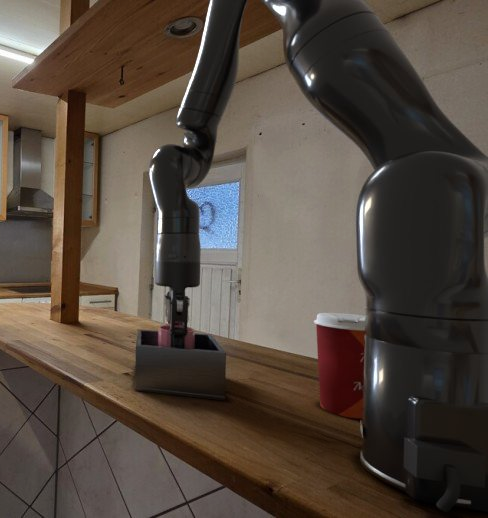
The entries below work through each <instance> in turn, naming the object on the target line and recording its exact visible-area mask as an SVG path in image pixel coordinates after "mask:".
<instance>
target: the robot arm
mask: <svg viewBox="0 0 488 518" xmlns="http://www.w3.org/2000/svg"><path fill="white" fill-rule="evenodd" d="M260 1H261V2H262V3H263V4H264V5H265V6H266V7H267V8H268V9H269V10H270V12H271V13H272V15H274V17H275V19H276V20H277V21H278V23H279V24H280V26H281V29H282V51H283V52H282V53H283V58H284V62H285V64H286V66H287V69H288V71H289V73H290V75H291V76H292V78H293V80H294V81H295V83H296V85H297V87H298V88H299V90H300V91H301V94H302V95H303V96H304V98H306V100H307V102H308V103H309V104H310V105H311V106H312V107H313V109H315V110H316V112H318V113H319V114H320V115H321V116H322V117H323V118H324V119H325V120H327V122H329V123H330V124H331V125H332V126H333V127H334V128H335V129H337V130H338V131H339V132H340V133H342V134H343V135H344V137H346V138H348V139H349V140H350V141H351V142H352V143H353V144H354V145H355V146H356V147H357V148H358V149H359V150H360V151H361V153H362V154H363V156H365V157H366V159H367V160H368V162H369V163H370V165H371V167H372V169H373V170H374V171H372V172H371V173H370V175H369V176H368V177H367V179H366V180H365V181H364V183H363V185H362V186H361V189H360V191H359V195H358V198H357V202H356V211H355V235H356V236H355V241H356V242H355V245H356V247H355V248H356V270H357V277H358V281H359V283H360V285H361V287H362V289H363V292H364V296H365V308H364V309H365V310H364V311H365V314H364V316H365V339H364V378H363V416H362V419H361V420H360V423H359V428H360V430H359V431H360V434H361V450H360V459H359V461H360V463H361V465H362V467H363V468H364V469H365V470H366V471H367V472H368V473H370V474H371V475H372V476H374V477H375V478H377V479H378V480H380V481H382V482H383V483H386V484H388V485H389V486H392V487H394V488H396V489H398V490H400V491H402V492H404V493H406V494H407V495H408V496H409V497H411V499H413V500H415V501H419V502H425V503H430V504H431V503H432V504H435V505H436V507H437V509H440V511H443V512H444V513H445V512H446V513H447V512H449V511H450V510H451V509H452V508H453V507H455V508H460V509H461V508H462V509H468V510H475V511H480V512H486V513H488V272H487V269H486V260H485V258H486V256H485V240H486V238H488V155H487V154H486V153H484V152H483V151H482V150H481V149H480V148H479V147H478V146H477V145H476V144H474V142H472V140H470V138H468V137H467V136H466V135H465V133H463V132H462V131H461V130H460V129H459V127H457V126H456V124H454V123H453V121H452V120H450V119H449V117H448V116H447V115H446V114H445V113H444V111H443V110H442V109H441V108H440V107H439V105H438V103H437V102H436V101H435V99H434V98H433V96H432V94H431V93H430V91H429V89H428V87H427V86H426V84H425V82H424V81H423V79H422V77H421V76H420V74H419V72H418V71H417V70H416V68H415V67H414V65H413V64H412V63H411V61H410V59H409V57H408V56H407V55H406V54H405V52H404V51H403V49H402V48H401V46H400V45H399V43H398V42H397V40H396V39H395V37H394V36H393V34H392V33H391V31H389V29H388V28H387V26H385V25H386V24H384V23H383V22H382V20H381V19H380V18H379V16H378V15H377V14H376V13H375V12H374V11H373V9H372V8H371V7H369V5H367V3H366V2H365V1H364V0H260ZM247 2H248V0H209V3H208V7H207V12H206V17H205V20H204V26H203V30H202V35H201V40H200V45H199V48H198V52H197V55H196V56H197V57H196V59H195V63H194V66H193V69H192V72H191V75H190V78H189V81H188V83H187V86H186V89H185V91H184V94H183V97H182V99H181V102H180V105H179V107H178V108H179V109H178V111H177V113H176V116H175V125H176V127H177V128H179V129H180V130H181V131H182V132H183V139H182V145H179V144H173V143H168V144H167V143H166V144H164V145H161V146H160V147H158V148H157V149H156V150H155V152H154V153H153V155H152V157H151V159H150V162H149V166H148V177H149V183H150V188H151V191H152V197H153V200H154V204H155V208H156V211H157V218H156V219H157V220H156V222H157V223H156V240H155V248H154V284H155V285H156V286H159V287H164V288H165V287H167V288H168V291H167V293H166V294H165V295H164V306H165V309H164V310H165V311H164V313H165V319H166V325H170V331H169V334H170V336H171V340H170V347H174V348H185V337H186V335H187V333H188V330H187V327H188V323H189V317H190V316H189V308H190V305H191V302H190V301H191V300H190V297H189V296H188V295H186V290H187V288H190V289H191V288H198V287H199V286H200V285H201V250H202V249H201V246H202V245H201V240H200V239H201V238H200V223H201V221H200V219H201V217H200V216H201V214H200V207H199V203H197V202H196V201H194V200H193V199H191V198H190V196H189V195H188V192H187V189H193V188H195V187H198V186H199V185H200V184H202V182H203V181H204V180H205V179H206V178H207V176H208V174H209V172H210V170H211V168H212V165H213V161H214V157H215V150H216V144H217V139H218V132H219V131H218V130H219V125H220V123H221V121H222V119H223V117H224V114H225V112H226V110H227V107H228V105H229V103H230V100H231V98H232V95H233V92H234V90H235V86H236V82H237V77H238V73H239V61H240V37H241V29H242V23H243V17H244V12H245V8H246V5H247ZM174 325H178V326H182V328H179V327H174Z"/></svg>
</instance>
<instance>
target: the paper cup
mask: <svg viewBox="0 0 488 518" xmlns="http://www.w3.org/2000/svg"><path fill="white" fill-rule="evenodd" d="M313 323H314V324H315V325H316V327H315V328H316V329H315V330H316V347H317V351H316V352H317V370H318V371H317V372H318V389H319V390H318V391H319V404H320V407H321V408H322V409H323V410H325V411H327V412H329V413H331V414H335V415H337V416H341V417H345V418H351V419H360V420H362V416H363V378H364V339H365V315H361V314H353V313H343V312H319V313H318V314H317V315H316V318H315V319H314V320H313Z"/></svg>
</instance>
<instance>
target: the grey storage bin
mask: <svg viewBox="0 0 488 518" xmlns="http://www.w3.org/2000/svg"><path fill="white" fill-rule="evenodd" d="M134 367H135V369H134V370H135V371H134V372H135V374H134V375H135V376H134V391H137V392H138V391H139V392H145V393H147V392H148V393H154V394H155V393H156V394H163V395H174V396H182V397H189V398H198V399H207V400H217V401H224V402H225V401H226V375H227V374H226V373H227V371H226V369H227V353H226V351H225V349H224V348H223V347H222V346H221V344H220V343H219V342H218V341H217V340H216V338H215V337H214V336H213V335H212V333H211V334H209V333H197V332H196V333H195V343H194V349H187V348H174V347H161V346H158V330H150V329H137V331H136V339H135V366H134Z"/></svg>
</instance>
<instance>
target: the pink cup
mask: <svg viewBox="0 0 488 518" xmlns="http://www.w3.org/2000/svg"><path fill="white" fill-rule="evenodd" d="M174 327H179V328H182V326H178V325H174ZM187 330H188V333H187V335H186V337H185V348H187V349H194V343H195V331H196V330H195V329H194V328H193V327H190V326H187ZM157 331H158V346H161V347H170V340H171V336H170V334H169V331H170V325H167V324H164V325H159V326H158V328H157Z"/></svg>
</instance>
